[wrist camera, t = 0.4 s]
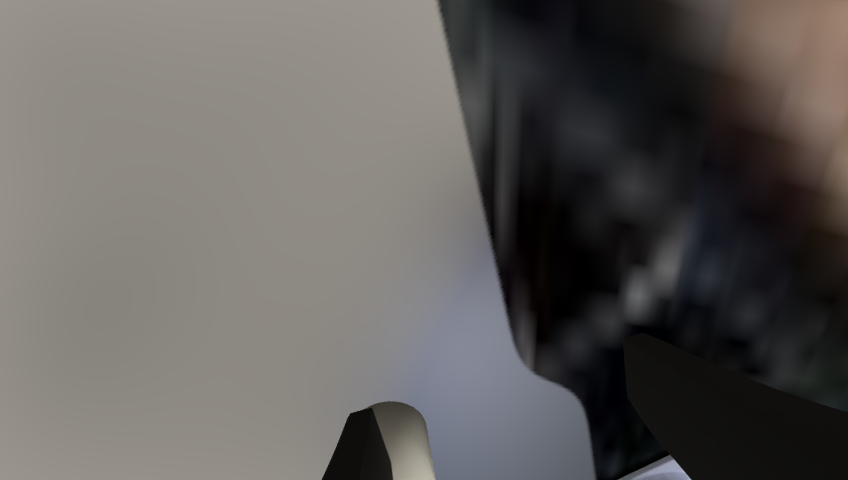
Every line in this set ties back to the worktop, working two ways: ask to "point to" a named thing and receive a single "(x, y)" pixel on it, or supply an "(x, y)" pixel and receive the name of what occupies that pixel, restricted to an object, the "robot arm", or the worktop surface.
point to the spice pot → (405, 440)
